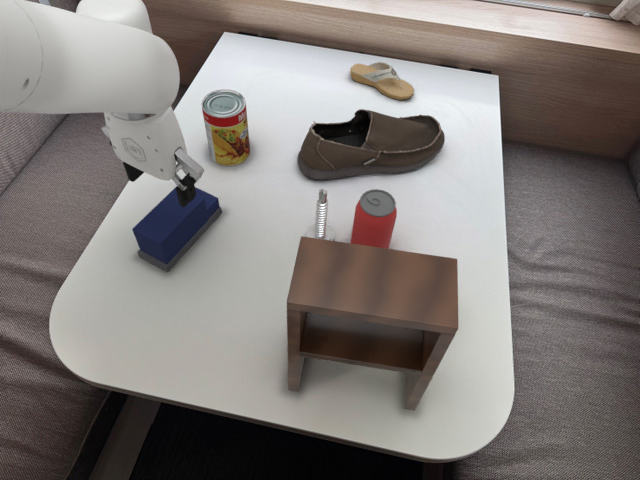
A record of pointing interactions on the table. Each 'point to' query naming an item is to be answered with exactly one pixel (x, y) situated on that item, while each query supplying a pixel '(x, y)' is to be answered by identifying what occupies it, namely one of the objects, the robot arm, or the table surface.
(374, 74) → the sandal
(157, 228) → the blue stepped block
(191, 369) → the table surface
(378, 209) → the beer can
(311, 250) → the shoe stand
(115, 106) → the robot arm
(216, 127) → the canned food
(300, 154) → the loafer
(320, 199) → the screw
